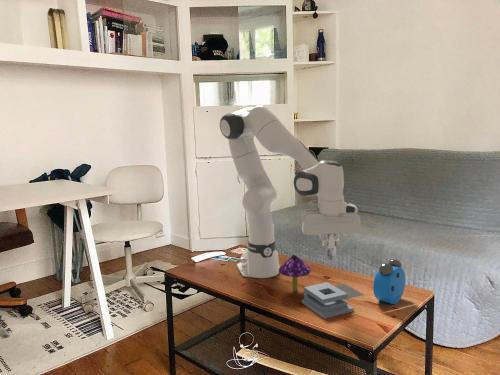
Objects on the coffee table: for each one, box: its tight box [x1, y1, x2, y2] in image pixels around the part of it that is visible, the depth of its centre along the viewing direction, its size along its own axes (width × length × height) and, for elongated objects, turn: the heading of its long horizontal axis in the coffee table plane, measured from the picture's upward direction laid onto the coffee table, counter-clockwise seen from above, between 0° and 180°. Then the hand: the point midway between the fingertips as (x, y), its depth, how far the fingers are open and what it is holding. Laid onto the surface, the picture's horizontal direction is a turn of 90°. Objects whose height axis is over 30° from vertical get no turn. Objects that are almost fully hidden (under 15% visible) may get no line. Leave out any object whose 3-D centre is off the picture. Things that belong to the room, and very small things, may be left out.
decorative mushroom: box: [279, 254, 312, 293], centre depth 154 cm, size 12×12×15 cm
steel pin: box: [326, 234, 337, 261], centre depth 141 cm, size 3×3×10 cm
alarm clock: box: [372, 258, 406, 305], centre depth 143 cm, size 13×6×15 cm, turn 135°
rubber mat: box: [334, 283, 365, 301], centre depth 153 cm, size 12×12×1 cm
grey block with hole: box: [301, 282, 355, 320], centre depth 140 cm, size 14×12×6 cm
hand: (331, 245), depth 141 cm, fingers closed on steel pin, 3 cm apart
